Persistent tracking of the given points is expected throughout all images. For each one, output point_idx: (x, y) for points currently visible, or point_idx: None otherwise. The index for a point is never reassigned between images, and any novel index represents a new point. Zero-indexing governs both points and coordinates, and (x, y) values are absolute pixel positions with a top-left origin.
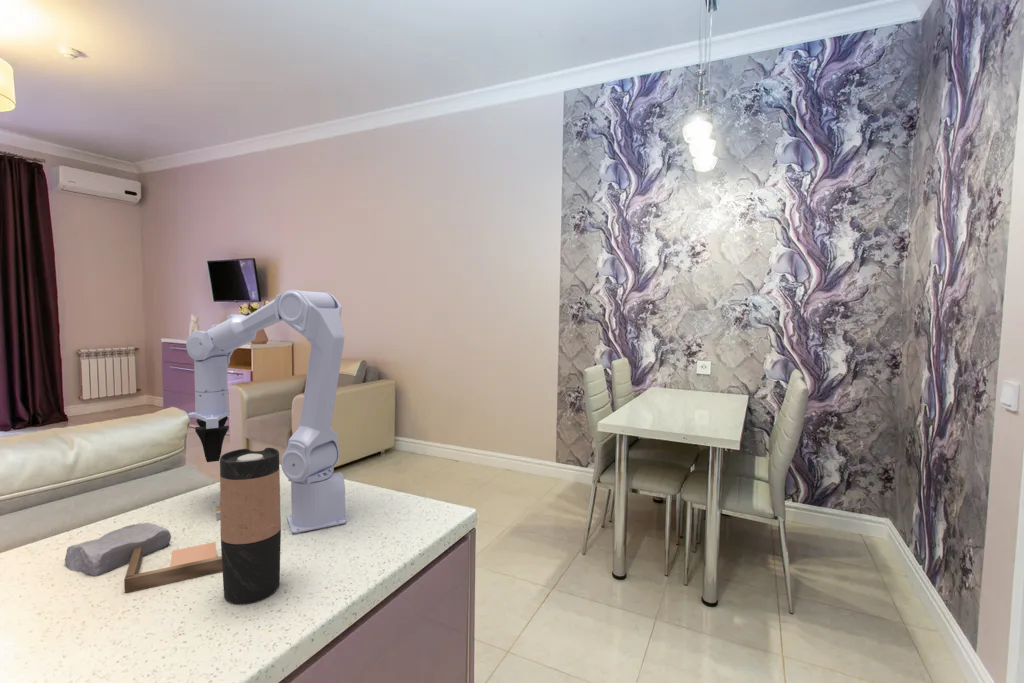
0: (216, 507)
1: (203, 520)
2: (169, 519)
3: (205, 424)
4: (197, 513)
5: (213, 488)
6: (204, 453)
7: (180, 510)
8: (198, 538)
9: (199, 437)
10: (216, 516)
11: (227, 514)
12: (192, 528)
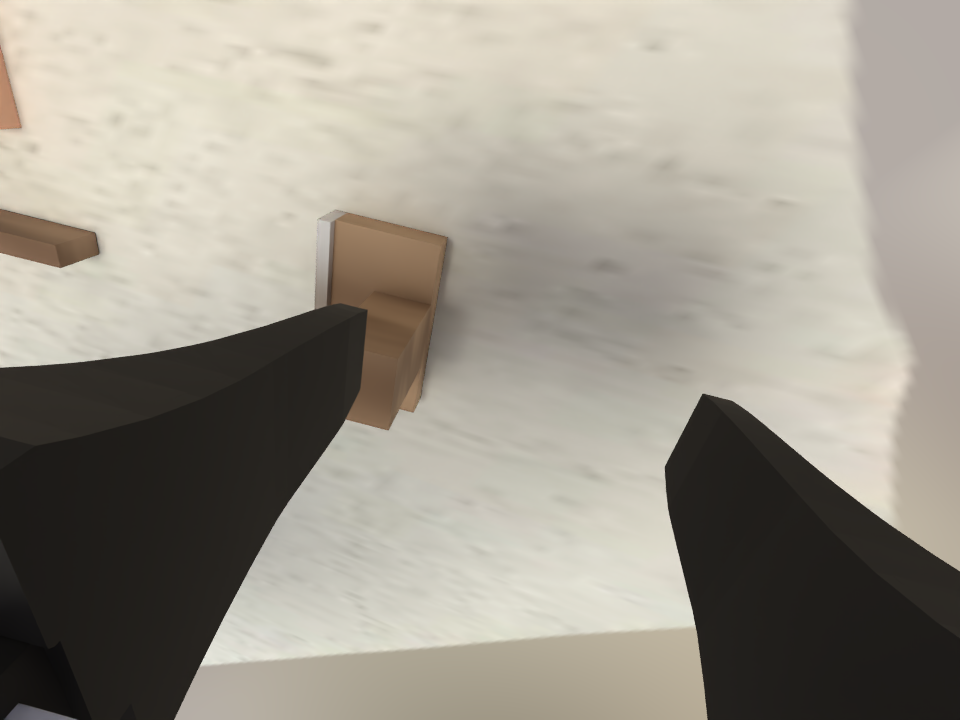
0: (423, 242)
1: (377, 163)
2: (501, 10)
3: (881, 713)
4: (493, 161)
5: (836, 320)
6: (283, 320)
7: (607, 92)
8: (169, 95)
9: (2, 369)
10: (326, 215)
11: None
12: (300, 96)
